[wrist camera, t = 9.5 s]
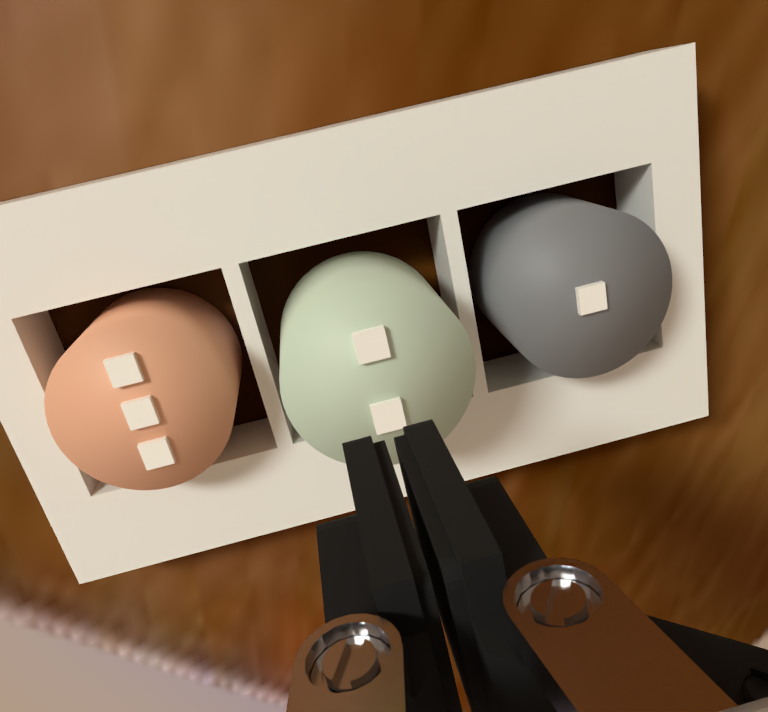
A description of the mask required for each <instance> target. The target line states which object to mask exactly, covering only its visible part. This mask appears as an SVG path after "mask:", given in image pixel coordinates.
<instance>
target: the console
mask: <svg viewBox="0 0 768 712" xmlns="http://www.w3.org/2000/svg"><path fill="white" fill-rule="evenodd" d="M612 172H614V181H615V193H616V205H617V210H618V211H622V212H625V213H628V214H630V215H632V216H635V217H637V218H638V219H640V220H641V221H643V222H644V223H646V224H647V225H648V226H649V227H650V228H651V229H652V230H653V231H654V232H655V233H656V234H657V235H658V237H659V238H660V240H661V241H662V243H663V245H664V247H665V249H666V251H667V254H668V256H669V260H670V264H671V270H672V292H671V299H670V303H669V307H668V310H667V313H666V315H665V318H664V320H663V322H662V324H661V326H660V328H659V329H658V331H657V332H656V334H655V335H654V337H653V338H652V340H651V341H650V342H649V343H648V344H647V346H646V347H645V348H644V349H643V350H642V351H641V352H640V353H638V354H637V355H636V356H635V357H634V358H632V359H631V360H630V361H628V362H627V363H625V364H624V365H622V366H620V367H619V368H617V369H614V370H612V371H610V372H608V373H605V374H602V375H598V376H594V377H589V378H565V377H560V376H556V375H553V374H550V373H547V372H545V371H543V370H541V369H539V368H538V367H536V366H535V365H533V364H532V363H531V362H530V361H529V360H528V359H526V358H525V357H524V356H523V355H522V354H521V353H516V354H512V355H508V356H504V357H500V358H496V359H493V360H489V361H485V362H483V359H482V353H481V347H480V342H479V336H478V330H477V324H476V318H475V313H474V307H473V301H472V295H471V290H470V284H469V278H468V272H467V266H466V261H465V255H464V249H463V243H462V237H461V232H460V226H459V220H458V214H457V210H460V209H464V208H469V207H473V206H477V205H481V204H485V203H489V202H493V201H497V200H501V199H505V198H510V197H514V196H518V195H522V194H526V193H530V192H534V191H538V190H542V189H546V188H551V187H555V186H559V185H563V184H567V183H571V182H575V181H579V180H583V179H587V178H592V177H596V176H600V175H604V174H608V173H612ZM423 218H426V219H427V225H428V230H429V235H430V240H431V245H432V251H433V256H434V261H435V266H436V272H437V277H438V282H439V287H440V293H441V298H442V300H443V301H444V303H445V304H446V305H447V306H448V307H449V308H450V310H451V311H452V312H453V313H454V314H455V316H456V317H457V318H458V319H459V321H460V322H461V324H462V325H463V327H464V329H465V330H466V332H467V334H468V337H469V339H470V342H471V344H472V348H473V352H474V357H475V366H476V370H475V383H474V389H473V393H472V396H471V399H470V402H469V405H468V407H467V409H466V411H465V413H464V415H463V416H462V418H461V420H460V421H459V423H458V424H457V425H456V427H455V428H454V429H453V430H452V432H451V433H450V434H449V435H448V436H447V437H446V438H445V439H444V440H443V441H444V443H445V445H446V446H447V448H448V450H449V452H450V454H451V456H452V458H453V460H454V462H455V464H456V466H457V468H458V469H459V471H460V473H461V475H462V477H463V479H464V481H467V480H470V479H474V478H478V477H482V476H485V475H489V474H493V473H496V472H500V471H504V470H508V469H511V468H515V467H519V466H523V465H526V464H530V463H534V462H538V461H541V460H545V459H549V458H553V457H556V456H560V455H564V454H567V453H571V452H575V451H579V450H582V449H586V448H590V447H594V446H597V445H601V444H605V443H609V442H612V441H616V440H620V439H624V438H627V437H631V436H635V435H638V434H642V433H646V432H650V431H653V430H657V429H661V428H665V427H668V426H672V425H676V424H680V423H683V422H687V421H691V420H695V419H698V418H702V417H706V416H709V410H708V382H707V355H706V327H705V300H704V272H703V245H702V218H701V190H700V163H699V135H698V108H697V80H696V53H695V43H689V44H683V45H677V46H672V47H666V48H660V49H655V50H649V51H645V52H640V53H636V54H632V55H628V56H623V57H619V58H615V59H611V60H606V61H602V62H598V63H593V64H589V65H585V66H581V67H576V68H572V69H568V70H564V71H559V72H555V73H551V74H546V75H542V76H538V77H534V78H529V79H525V80H521V81H517V82H512V83H508V84H504V85H499V86H495V87H491V88H487V89H482V90H478V91H474V92H469V93H465V94H461V95H457V96H452V97H448V98H444V99H440V100H435V101H431V102H427V103H422V104H418V105H414V106H410V107H405V108H401V109H397V110H393V111H388V112H384V113H380V114H375V115H371V116H367V117H363V118H358V119H354V120H350V121H346V122H341V123H337V124H333V125H328V126H324V127H320V128H316V129H311V130H307V131H303V132H299V133H294V134H290V135H286V136H281V137H277V138H273V139H269V140H264V141H260V142H256V143H251V144H247V145H243V146H239V147H234V148H230V149H226V150H222V151H217V152H213V153H209V154H204V155H200V156H196V157H192V158H187V159H183V160H179V161H175V162H170V163H166V164H162V165H157V166H153V167H149V168H145V169H140V170H136V171H132V172H128V173H123V174H119V175H115V176H110V177H106V178H102V179H98V180H93V181H89V182H85V183H80V184H76V185H72V186H68V187H63V188H59V189H55V190H51V191H46V192H42V193H38V194H33V195H29V196H25V197H21V198H16V199H12V200H8V201H4V202H0V421H1V423H2V425H3V427H4V429H5V431H6V433H7V435H8V437H9V439H10V441H11V443H12V446H13V448H14V450H15V452H16V454H17V456H18V458H19V460H20V462H21V464H22V466H23V468H24V470H25V472H26V475H27V477H28V479H29V481H30V483H31V485H32V487H33V489H34V491H35V493H36V495H37V497H38V499H39V501H40V503H41V506H42V508H43V510H44V512H45V514H46V516H47V518H48V520H49V522H50V524H51V526H52V528H53V530H54V532H55V534H56V537H57V539H58V541H59V543H60V545H61V547H62V549H63V551H64V553H65V555H66V557H67V559H68V561H69V563H70V565H71V568H72V570H73V572H74V574H75V576H76V578H77V580H78V582H79V584H82V583H85V582H89V581H93V580H97V579H100V578H104V577H108V576H112V575H115V574H119V573H123V572H127V571H130V570H134V569H138V568H142V567H145V566H149V565H153V564H156V563H160V562H164V561H168V560H171V559H175V558H179V557H183V556H186V555H190V554H194V553H198V552H201V551H205V550H209V549H213V548H216V547H220V546H224V545H227V544H231V543H235V542H239V541H242V540H246V539H250V538H254V537H257V536H261V535H265V534H269V533H272V532H276V531H280V530H284V529H287V528H291V527H295V526H298V525H302V524H306V523H310V522H313V521H317V520H321V519H325V518H328V517H332V516H336V515H340V514H343V513H347V512H351V511H354V510H355V506H354V501H353V496H352V491H351V486H350V481H349V476H348V471H347V466H346V463H342V462H339V461H336V460H334V459H332V458H329V457H327V456H326V455H324V454H322V453H320V452H319V451H317V450H316V449H314V448H313V447H312V446H311V445H309V444H308V443H307V442H306V441H305V440H304V439H303V438H302V437H301V436H300V435H299V433H298V432H297V431H296V429H295V428H294V427H293V425H292V423H291V422H290V420H289V418H288V416H287V414H286V411H285V409H284V406H283V402H282V398H281V394H280V382H279V374H280V369H279V365H278V362H277V359H276V355H275V352H274V349H273V345H272V342H271V338H270V335H269V332H268V328H267V325H266V322H265V318H264V315H263V312H262V308H261V305H260V301H259V298H258V295H257V291H256V288H255V285H254V281H253V278H252V275H251V271H250V268H249V265H248V261H251V260H255V259H259V258H264V257H268V256H272V255H276V254H280V253H284V252H288V251H292V250H296V249H300V248H305V247H309V246H313V245H317V244H321V243H325V242H329V241H333V240H337V239H341V238H346V237H350V236H354V235H358V234H362V233H366V232H370V231H374V230H378V229H382V228H387V227H391V226H395V225H399V224H403V223H407V222H411V221H415V220H419V219H423ZM218 268H221V269H222V272H223V275H224V279H225V282H226V285H227V288H228V291H229V295H230V298H231V301H232V304H233V307H234V310H235V314H236V317H237V320H238V323H239V326H240V330H241V333H242V336H243V339H244V342H245V345H246V349H247V352H248V355H249V358H250V361H251V365H252V368H253V371H254V374H255V377H256V380H257V384H258V387H259V390H260V393H261V396H262V400H263V403H264V406H265V409H266V412H267V415H268V418H264V419H260V420H256V421H252V422H248V423H244V424H240V425H236V426H233V427H232V432H231V435H230V437H229V440H228V442H227V444H226V446H225V448H224V450H223V451H222V453H221V454H220V456H219V457H218V458H217V459H216V461H215V462H214V463H213V464H212V465H211V466H210V467H209V468H207V469H206V470H205V471H204V472H202V473H201V474H199V475H198V476H196V477H194V478H193V479H191V480H189V481H187V482H184V483H182V484H179V485H176V486H173V487H169V488H164V489H158V490H132V489H124V488H120V487H116V486H112V485H109V484H107V483H104V482H101V481H99V480H97V479H95V478H93V477H91V476H90V475H88V474H86V473H85V472H83V471H82V470H80V469H79V468H78V467H77V466H75V465H74V464H73V463H72V462H71V461H70V460H69V459H68V458H67V457H66V456H65V455H64V454H63V452H62V451H61V450H60V448H59V447H58V445H57V444H56V442H55V440H54V439H53V437H52V435H51V432H50V430H49V427H48V424H47V420H46V416H45V406H44V399H45V390H46V386H47V382H48V379H49V376H50V374H51V372H52V369H53V368H54V366H55V365H56V363H57V361H58V360H59V359H60V357H61V356H62V355H63V354H64V353H65V350H64V348H63V345H62V343H61V340H60V338H59V336H58V333H57V331H56V329H55V326H54V324H53V322H52V319H51V317H50V315H49V312H48V310H50V309H54V308H59V307H63V306H67V305H71V304H75V303H79V302H83V301H87V300H91V299H95V298H100V297H104V296H108V295H112V294H116V293H120V292H124V291H128V290H132V289H136V288H141V287H145V286H149V285H153V284H157V283H161V282H165V281H169V280H173V279H177V278H182V277H186V276H190V275H194V274H198V273H202V272H206V271H210V270H214V269H218ZM393 467H394V470H395V473H396V475H397V478H398V481H399V484H400V487H401V490H402V493H403V496H404V497H407V493H406V489H405V485H404V481H403V476H402V472H401V468H400V464H395V465H393Z"/></svg>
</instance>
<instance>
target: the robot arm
mask: <svg viewBox="0 0 768 712" xmlns="http://www.w3.org/2000/svg"><path fill="white" fill-rule="evenodd" d="M403 432H404V435H401V436H398V437H394V443H395V447H396V451H397V455H398V460H399V464H400V468H401V472H402V476H403V481H404V485H405V489H406V493H407V497H408V502H409V506H410V510H411V514H412V518H413V522H414V526H413V523H412V520H411V517H410V514H409V511H408V508H407V505H406V502H405V499H404V496H403V493H402V490H401V487H400V484H399V481H398V478H397V475H396V473H395V470H394V467H393V464H392V461H391V458H390V455H389V452H388V449H387V446H386V443H385V440H383V441H379V442H375V443H373V441H372V437H371V436H367V437H363V438H360V439H356V440H352V441H348V442H345V443H342V446H343V451H344V456H345V461H346V466H347V471H348V476H349V481H350V486H351V491H352V496H353V501H354V506H355V511H356V514H354V515H350V516H347V517H343V518H339V519H336V520H332V521H328V522H325V523H321V524H318V525H317V526H316V529H317V541H318V551H319V562H320V572H321V583H322V593H323V603H324V614H325V624H324V625H322V626H320V627H319V628H318V629H317V630H316V631H314V632H313V633H312V634H311V635H310V636H309V637H307V639H306V640H305V642H304V643H303V644H302V646H301V647H300V649H299V650H298V652H297V655H296V658H295V661H294V664H293V671H292V677H291V684H290V691H289V697H288V704H287V710H286V712H462V708H461V704H460V700H459V696H458V691H457V687H456V683H455V679H454V674H453V670H452V666H451V662H450V657H449V653H448V649H447V645H446V641H445V636H444V632H443V628H442V624H441V620H442V623H443V626H444V629H445V632H446V635H447V638H448V641H449V644H450V647H451V650H452V654H453V657H454V660H455V663H456V666H457V669H458V672H459V675H460V678H461V681H462V684H463V687H464V690H465V693H466V696H467V699H468V702H469V705H470V708H471V711H472V712H768V650H766V649H763V648H759V647H756V646H753V645H749V644H746V643H742V642H739V641H735V640H732V639H728V638H725V637H721V636H718V635H714V634H711V633H707V632H704V631H700V630H697V629H693V628H690V627H686V626H683V625H679V624H676V623H672V622H669V621H665V620H662V619H658V618H655V617H651V616H648V615H646V614H645V613H644V612H643V611H642V610H641V609H640V608H639V607H638V606H637V605H636V604H635V603H634V602H633V601H632V600H630V599H629V598H628V597H627V596H626V595H625V594H624V593H623V592H622V591H621V590H620V589H619V588H618V587H617V586H616V585H615V584H614V583H613V582H612V581H611V580H610V579H609V578H608V577H607V576H606V575H605V574H604V573H603V572H601V571H600V570H598V569H597V568H596V567H594V566H593V565H590V564H588V563H585V562H582V561H580V560H576V559H569V558H547V557H546V556H545V554H544V552H543V551H542V549H541V547H540V546H539V544H538V543H537V541H536V539H535V538H534V536H533V535H532V533H531V531H530V530H529V528H528V526H527V525H526V523H525V522H524V520H523V518H522V517H521V515H520V514H519V512H518V510H517V509H516V507H515V505H514V504H513V502H512V501H511V499H510V497H509V496H508V494H507V492H506V491H505V489H504V488H503V486H502V484H501V483H500V481H499V480H498V479H497V477H496V476H492V477H488V478H484V479H481V480H477V481H473V482H470V483H465V481H464V479H463V477H462V475H461V473H460V471H459V469H458V468H457V466H456V464H455V462H454V460H453V458H452V456H451V454H450V452H449V450H448V448H447V446H446V445H445V443H444V441H443V439H442V437H441V435H440V433H439V431H438V429H437V427H436V425H435V423H434V421H433V420H432V419H431V420H427V421H423V422H419V423H416V424H412V425H408V426H404V427H403ZM414 527H415V529H414ZM415 531H416V532H415ZM439 614H440V615H439ZM440 617H441V619H440Z"/></svg>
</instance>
